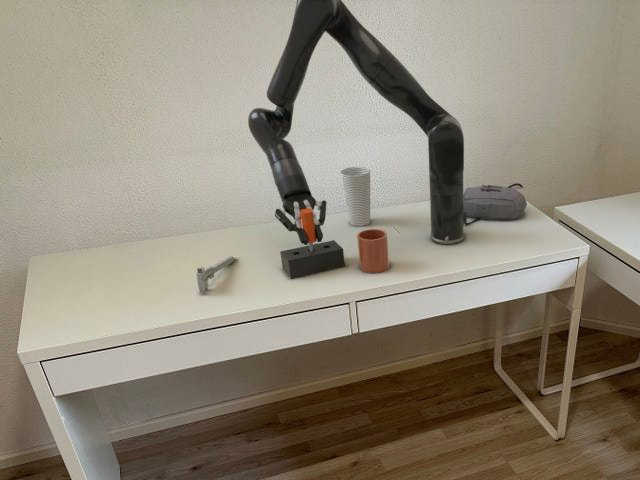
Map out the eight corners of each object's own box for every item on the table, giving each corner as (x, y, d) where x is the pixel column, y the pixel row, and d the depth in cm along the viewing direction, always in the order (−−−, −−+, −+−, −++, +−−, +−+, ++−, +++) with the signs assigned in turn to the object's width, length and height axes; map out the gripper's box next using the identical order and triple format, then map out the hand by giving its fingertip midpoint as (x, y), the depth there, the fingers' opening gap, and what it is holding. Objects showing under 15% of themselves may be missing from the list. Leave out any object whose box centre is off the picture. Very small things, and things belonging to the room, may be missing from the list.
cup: (350, 216, 206) (345, 166, 197) (377, 218, 205) (373, 167, 196) (342, 227, 199) (336, 175, 190) (370, 228, 198) (365, 176, 189)
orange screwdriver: (312, 262, 176) (305, 207, 168) (322, 264, 175) (315, 209, 167) (305, 267, 174) (297, 211, 166) (315, 269, 173) (307, 213, 165)
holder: (282, 269, 174) (279, 251, 171) (335, 257, 181) (333, 240, 178) (290, 278, 169) (288, 260, 167) (345, 266, 176) (343, 248, 173)
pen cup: (369, 259, 180) (367, 227, 175) (394, 264, 177) (392, 231, 172) (354, 270, 174) (351, 237, 169) (379, 275, 172) (377, 242, 167)
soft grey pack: (458, 220, 204) (524, 224, 202) (458, 193, 199) (526, 197, 197) (466, 203, 216) (528, 206, 214) (466, 177, 212) (529, 180, 210)
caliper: (204, 294, 162) (199, 271, 158) (200, 294, 162) (194, 270, 159) (235, 259, 179) (231, 237, 176) (231, 259, 179) (227, 236, 176)
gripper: (264, 178, 165) (287, 241, 163) (319, 169, 171) (342, 230, 169) (261, 192, 172) (284, 254, 170) (314, 183, 178) (337, 242, 176)
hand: (313, 241), depth 169 cm, fingers closed on orange screwdriver, 3 cm apart
